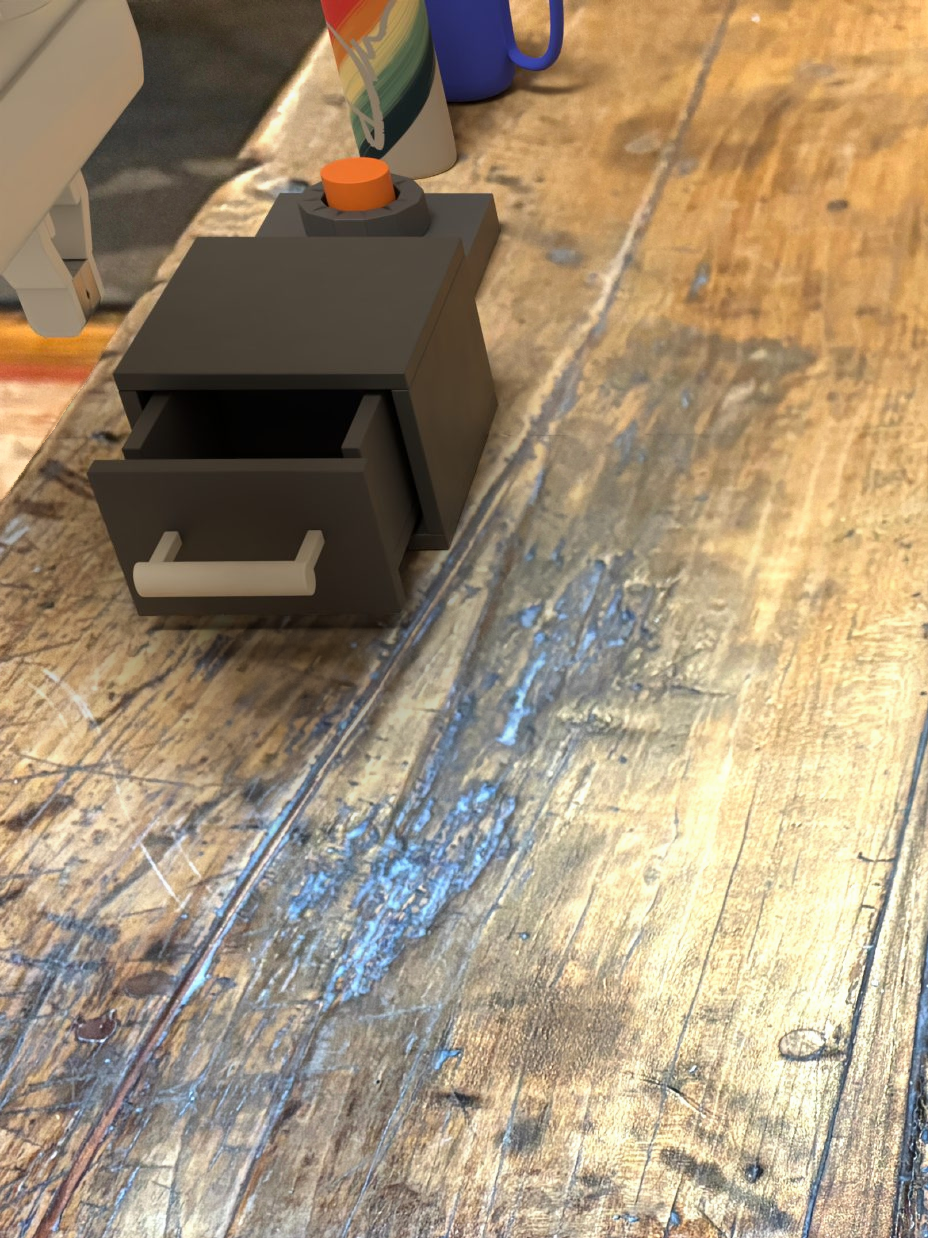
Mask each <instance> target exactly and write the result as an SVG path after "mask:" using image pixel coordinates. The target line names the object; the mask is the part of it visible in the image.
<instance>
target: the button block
mask: <svg viewBox="0 0 928 1238" xmlns="http://www.w3.org/2000/svg"><path fill="white" fill-rule="evenodd" d="M390 175H391V179H392V184H393V188H394V192H395V196H396V201H394V202H392V203H390V204H388V205H386V206H384V207H380V208H375V209H370V210H366V211H342V210H338V209H334V208H330V207H329V206H328V202H327V198H326V194H325V191H324V187H323V183H322V180H319V181H318V182H316V183H314V184H312V185H310V186H308V187H306V188H304V189H303V191H302V192H279V193H278V195H277V197H276V198H275V200H274V202H273V204H272V205H271V207H270V209H269V211H268V213H267V214H266V216H265V217H264V219H263V221H262V223H261V225H260V226H259V228H258V230H257V231H256V233H255V235H254V237H461V238H462V242H463V247H464V251H465V252H464V253H465V256H466V260H467V265H468V269H469V274H470V278H471V283H472V287H473V292H474V296H475V297H476V295H477V293H478V290H479V288H480V285H481V282H482V280H483V277H484V275H485V272H486V270H487V267H488V265H489V262H490V260H489V259H491V257H492V254H493V252H494V249H495V247H496V244H497V242H498V239H499V237H500V234H501V231H502V230H501V226H500V220H499V216H498V211H497V207H496V206H497V205H496V202H495V196H494V194H493V193H492V192H489V193H488V192H460V193H459V192H425V191H424V188H422V186H421V185H420V184H419V183H417V182H416V181H415V179H412V178H408V177H404V176H400V175H396V174H392V173H390ZM492 251H493V252H492ZM491 253H492V254H491ZM490 256H491V257H490Z"/></svg>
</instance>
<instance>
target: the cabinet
mask: <svg viewBox="0 0 928 1238" xmlns="http://www.w3.org/2000/svg"><path fill="white" fill-rule="evenodd" d="M464 252H465V251H464V247H463V242H462V238H461V237H255V236H196V237H195V239H194V240H193V242H192V244H191V245H190V247H189V249H188V250H187V252H186V253H185V255H184V256H183V258H182V260H181V261H180V263H179V265H178V266H177V268H176V270H175V272H174V273H173V274H172V276H171V278H170V279H169V281H168V282H167V284H166V286H165V287H164V289H163V291H162V292H161V294H160V295H159V297H158V298H157V300H156V302H155V304H154V306H153V307H152V309H151V310H150V311H149V313H148V315H147V317H146V319H144V321H143V323H142V325H141V327H140V328H139V330H138V331H137V333H136V335H135V336H134V338H133V340H132V341H131V343H130V344H129V346H128V348H127V350H126V351H125V352H124V354H123V356H122V357H121V358H120V361H119V363H118V364H117V365H116V367H115V369H114V370H113V372H112V378H113V380H114V383H115V386H116V389H117V392H118V396H119V398H120V401H121V404H122V407H123V410H124V412H125V415H126V418H127V421H128V424H129V427H130V430H131V431H132V429H133V428H134V426H135V424H136V423H137V421H138V419H139V417H140V416H141V414H142V412H143V411H144V409H145V407H146V405H147V404H148V402H149V400H150V398H151V397H152V395H153V393H154V392H155V390H379V389H392V390H391V392H392V396H393V400H394V404H395V408H396V412H397V415H398V419H399V423H400V427H401V431H402V435H403V439H404V443H405V447H406V451H407V455H408V458H409V462H410V466H411V470H412V474H413V478H414V482H415V486H416V490H417V494H418V498H419V501H420V505H421V509H420V512H419V515H418V517H417V520H416V523H415V525H414V528H413V531H412V533H411V536H410V539H409V541H408V544H407V547H406V550H448V549H449V548H450V545H451V542H452V540H453V536H454V533H455V532H456V531H455V530H456V528H457V525H458V522H459V519H460V516H461V514H462V510H463V507H464V505H465V502H466V500H467V496H468V493H469V490H470V487H471V484H472V481H473V479H474V476H475V473H476V470H477V467H478V465H479V461H480V459H481V456H482V452H483V450H484V447H485V444H486V441H487V438H488V436H489V433H490V430H491V427H492V424H493V420H494V418H495V415H496V412H497V409H498V406H499V402H498V398H497V397H498V396H497V393H496V387H495V382H494V378H493V373H492V369H491V365H490V360H489V357H488V352H487V347H486V342H485V338H484V333H483V329H482V328H483V327H482V323H481V320H480V319H481V318H480V315H479V311H478V310H479V309H478V305H477V301H476V295H475V296H474V292H473V287H472V283H471V278H470V274H469V269H468V265H467V260H466V256H465V253H464Z"/></svg>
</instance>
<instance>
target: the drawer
mask: <svg viewBox="0 0 928 1238" xmlns="http://www.w3.org/2000/svg"><path fill="white" fill-rule="evenodd" d="M391 390H392V389H379V390H155V392H154V393H153V395H152V397H151V398H150V400H149V402H148V404H147V405H146V407H145V409H144V411H143V412H142V414H141V416H140V417H139V419H138V421H137V423H136V424H135V426H134V428H133V429H132V430H131V431H130V433H129V435H127V436H128V437H127V438H126V440H125V441H124V443H123V445H122V447H121V453H122V456H123V459H94V460H93V461H92V462H91V464H90V465H89V467H88V469H87V471H86V473H85V475H86V477H87V479H88V483H89V485H90V488H91V490H92V493H93V496H94V498H95V501H96V504H97V507H98V509H99V512H100V515H101V517H102V520H103V524H104V526H105V529H106V531H107V535H108V536H109V539H110V542H111V544H112V548H113V550H114V552H115V556H116V558H117V561H118V564H119V567H120V569H121V572H122V575H123V577H124V580H125V582H126V585H127V588H128V591H129V594H130V596H131V599H132V602H133V605H134V606H135V610H136V613H137V615H138V617H198V616H199V617H202V616H203V617H205V616H206V617H211V616H212V617H213V616H218V617H219V616H220V617H221V616H300V615H301V616H302V615H303V616H307V615H308V616H309V615H310V616H311V615H392V614H393V615H395V614H396V615H397V614H399V615H400V614H402V613H403V611H404V607H405V604H406V603H407V597H406V593H405V590H404V586H403V582H402V578H401V575H400V571H399V568H400V566H401V562H402V560H403V558H404V555H405V553H406V551H407V549H406V547H407V544H408V541H409V539H410V536H411V533H412V531H413V528H414V525H415V523H416V520H417V517H418V515H419V512H420V509H421V505H420V501H419V498H418V494H417V490H416V486H415V482H414V478H413V474H412V470H411V466H410V462H409V458H408V455H407V451H406V447H405V443H404V439H403V435H402V431H401V427H400V423H399V419H398V415H397V412H396V408H395V404H394V400H393V396H392V392H391Z"/></svg>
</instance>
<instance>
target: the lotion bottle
mask: <svg viewBox="0 0 928 1238" xmlns="http://www.w3.org/2000/svg"><path fill="white" fill-rule="evenodd" d="M320 3H321V8H322V12H323V16H324V20H325V24H326V29H327V32H328V35H329V36H328V37H329V40H330V45H331V48H332V52H333V57H334V60H335V64H336V68H337V72H338V77H339V81H340V84H341V85H340V86H341V88H342V89H341V90H342V92H343V97H344V99H345V105H346V109H347V112H348V117H349V120H350V125H351V129H352V133H353V136H354V139H355V145H356V148H357V151H358V155H359V157H366V158H374V159H378V160H381V161H383V162H385V163H386V164H387V165H388V167H389V171H390V173H392V174H396V175H400V176H404V177H408V178H412V179H413V180H421V179H425V178H429V177H433V176H437V175H440V174H443V173H444V172H447V171H448V170H450V169H451V168H452V167H453V166H454V165H455V163H456V161H457V159H458V158H457V147H456V142H455V141H456V140H455V136H454V131H453V127H452V122H451V118H450V113H449V108H448V103H447V101H446V98H445V94H444V89H443V85H442V80H441V75H440V71H439V66H438V62H437V57H436V52H435V48H434V43H433V39H432V34H431V29H430V25H429V20H428V16H427V11H426V6H425V2H424V0H320Z"/></svg>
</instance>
